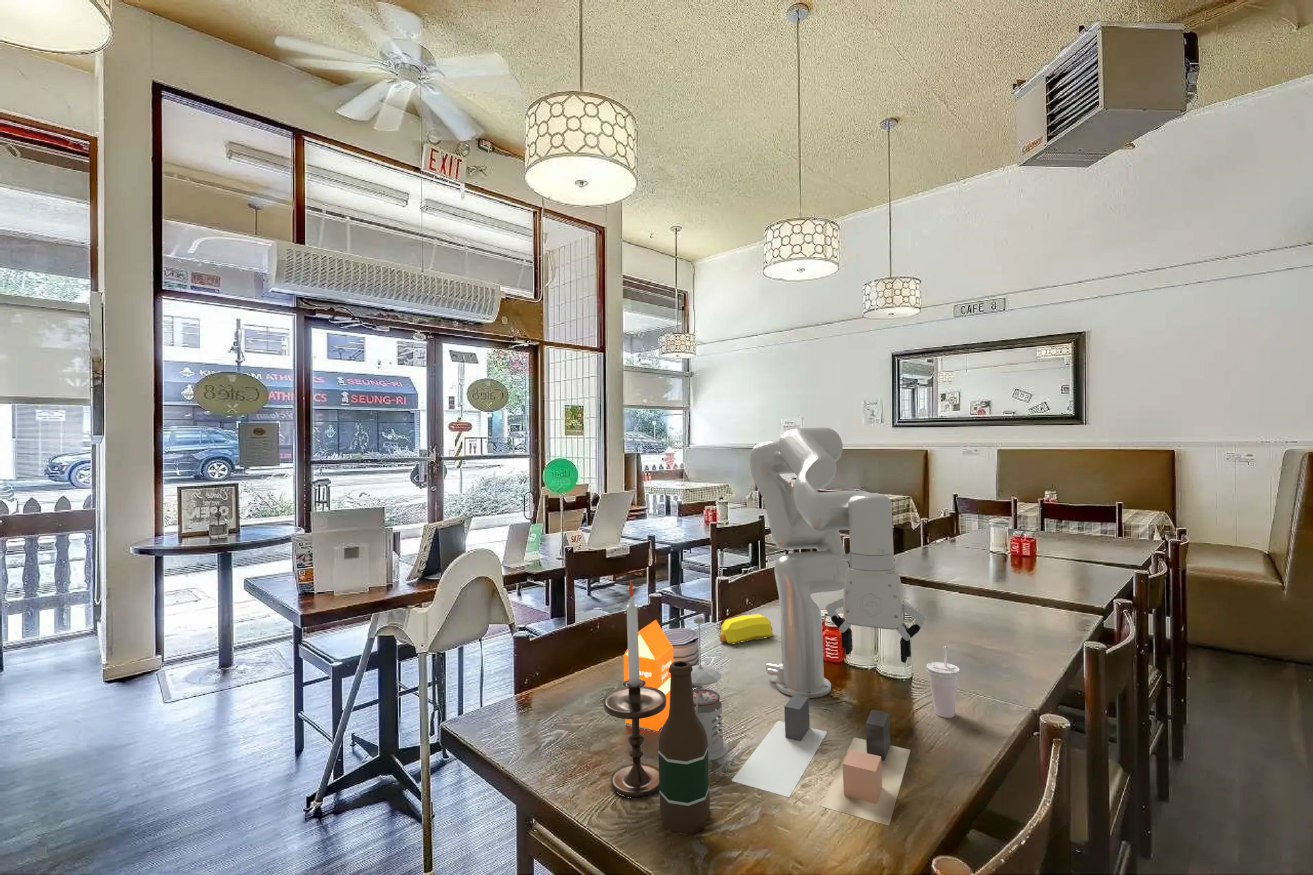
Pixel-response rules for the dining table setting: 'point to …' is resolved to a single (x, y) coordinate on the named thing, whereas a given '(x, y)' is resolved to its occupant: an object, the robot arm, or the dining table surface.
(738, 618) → the yellow rounded bar
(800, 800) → the dining table surface
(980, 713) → the dining table surface
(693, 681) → the french press
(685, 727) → the beer bottle
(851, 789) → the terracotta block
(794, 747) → the grey strip
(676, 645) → the can
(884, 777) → the maple strip
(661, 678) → the orange juice
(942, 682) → the smoothie
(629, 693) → the candlestick
